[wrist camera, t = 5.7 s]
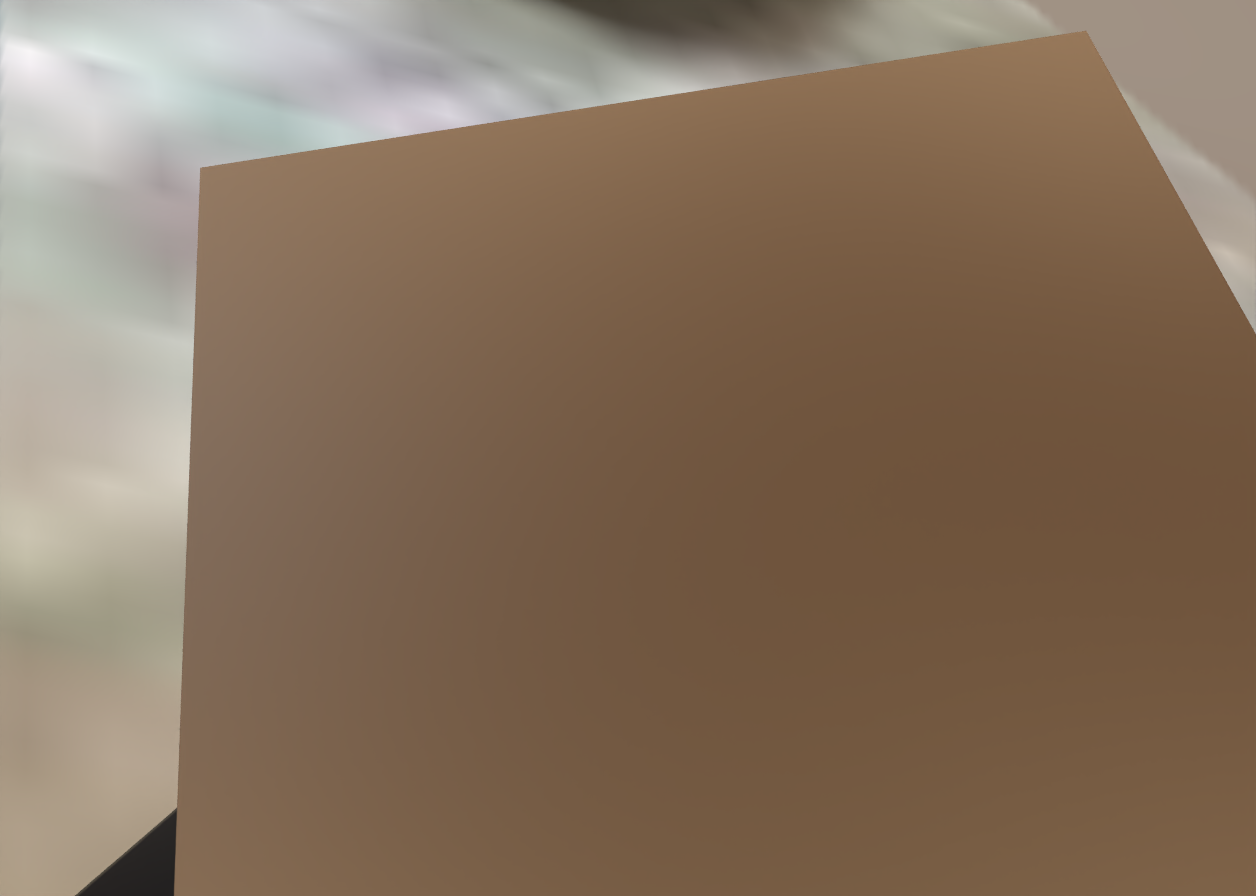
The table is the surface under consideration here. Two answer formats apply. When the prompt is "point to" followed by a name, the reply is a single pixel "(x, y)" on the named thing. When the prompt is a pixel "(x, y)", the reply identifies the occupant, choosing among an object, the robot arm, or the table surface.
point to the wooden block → (724, 503)
